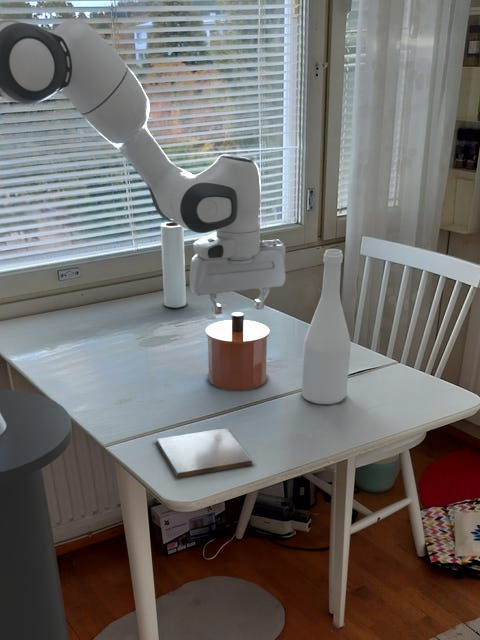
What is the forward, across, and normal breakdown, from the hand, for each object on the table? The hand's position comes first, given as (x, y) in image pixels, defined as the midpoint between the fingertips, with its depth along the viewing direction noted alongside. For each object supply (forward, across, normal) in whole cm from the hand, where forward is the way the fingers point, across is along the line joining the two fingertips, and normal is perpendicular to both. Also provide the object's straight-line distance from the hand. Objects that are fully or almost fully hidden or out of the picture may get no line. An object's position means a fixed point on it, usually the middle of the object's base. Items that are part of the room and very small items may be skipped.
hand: (238, 311), depth 165 cm
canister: (+15, 0, 0) cm, 15 cm away
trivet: (+15, +18, +31) cm, 39 cm away
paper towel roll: (+15, -2, -55) cm, 57 cm away
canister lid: (+5, 0, 0) cm, 5 cm away
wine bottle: (+15, -14, +15) cm, 26 cm away
